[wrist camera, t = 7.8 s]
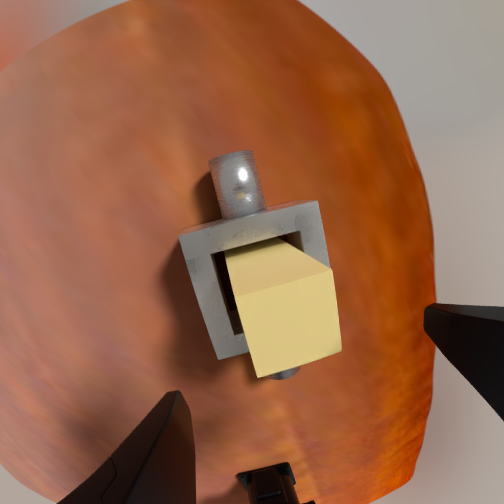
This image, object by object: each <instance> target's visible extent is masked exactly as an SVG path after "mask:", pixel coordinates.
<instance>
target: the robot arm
mask: <svg viewBox="0 0 504 504" xmlns="http://www.w3.org/2000/svg"><path fill="white" fill-rule="evenodd" d="M423 327H424V330H425V332H426V333H427V335H428V336H429V337H430V338H431V340H432V341H433V342H434V343H435V345H436V346H437V347H438V348H439V350H440V351H441V352H442V354H443V355H444V356H445V357H446V358H447V359H448V360H449V361H450V363H452V365H454V367H456V369H457V370H458V371H459V372H460V373H461V374H462V375H463V376H464V377H465V378H466V379H467V380H468V381H469V382H470V384H471V385H472V386H473V387H474V388H475V389H476V390H477V391H478V392H479V393H480V395H481V396H482V397H483V398H484V399H485V400H486V401H487V402H488V404H489V405H490V406H491V407H492V408H493V409H494V410H495V412H496V413H497V414H498V415H499V416H500V417H501V419H502V420H503V421H504V307H497V306H474V305H456V304H439V303H433V304H430V305H429V306H427V307H426V308H425V309H424V324H423ZM238 478H239V480H240V481H241V483H242V484H243V486H244V487H245V489H246V490H247V492H248V495H249V501H250V504H300V503H299V500H298V497H297V495H296V492H295V489H294V486H293V485H295V484H296V482H295V479H294V476H293V473H292V470H291V467H290V464H289V463H288V462H286V463H282V464H278V465H275V466H271V467H267V468H263V469H258V470H254V471H249V472H244V473H240V474H238ZM57 504H196V471H195V445H194V437H193V429H192V421H191V413H190V409H189V407H188V405H187V403H186V401H185V399H184V397H183V395H182V393H181V392H180V391H178V390H176V391H170V392H167V393H166V394H165V395H164V396H163V397H162V399H161V400H160V401H159V402H158V403H157V404H156V405H155V407H154V408H153V409H152V410H151V411H150V412H149V413H148V415H147V416H146V417H145V418H144V419H143V420H142V421H141V422H140V424H139V425H138V426H137V427H136V428H135V429H134V430H133V431H132V432H131V434H130V435H129V436H128V437H127V438H126V439H125V440H124V441H123V442H122V443H121V445H120V446H119V447H118V448H117V449H116V450H115V451H114V452H113V453H112V454H111V457H109V458H108V459H107V460H106V461H105V462H104V463H103V464H102V465H101V466H100V467H99V468H98V469H97V470H96V471H95V472H94V473H93V474H92V475H91V476H90V477H89V478H87V479H86V480H85V481H84V482H83V483H82V484H81V485H79V486H78V487H77V488H76V489H75V490H73V491H72V492H71V493H70V494H68V495H67V496H66V497H65V498H64V499H62V500H61V501H60V502H58V503H57ZM303 504H315V502H314V500H312V501H309V502H307V503H303Z"/></svg>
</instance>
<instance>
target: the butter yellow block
mask: <svg viewBox="0 0 504 504" xmlns="http://www.w3.org/2000/svg"><path fill="white" fill-rule="evenodd" d="M224 255H225V259H226V263H227V268H228V272H229V276H230V281H231V285H232V289H233V293H234V297H235V301H236V305H237V308H238V312H239V315H240V319H241V323H242V326H243V330H244V333H245V337H246V340H247V344H248V347H249V351H250V354H251V357H252V361H253V364H254V368H255V371H256V374H257V378H259V377H263V376H266V375H270V374H273V373H277V372H280V371H284V370H287V369H290V368H293V367H297V366H300V365H303V364H306V363H309V362H312V361H315V360H318V359H321V358H323V357H326V356H329V355H332V354H334V353H337V352H340V351H342V347H341V337H340V327H339V318H338V310H337V302H336V294H335V287H334V279H333V273H332V269H330V268H329V267H327V266H325V265H324V264H322V263H320V262H319V261H317V260H315V259H313V258H312V257H310V256H308V255H307V254H305V253H303V252H302V251H300V250H298V249H297V248H295V247H293V246H291V245H290V244H288V243H286V242H285V241H283V240H281V239H279V238H278V237H273V238H269V239H265V240H261V241H257V242H253V243H249V244H246V245H242V246H238V247H234V248H231V249H227V250H224Z"/></svg>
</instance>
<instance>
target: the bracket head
mask: <svg viewBox="0 0 504 504" xmlns="http://www.w3.org/2000/svg"><path fill="white" fill-rule="evenodd" d="M208 164H209V168H210V172H211V176H212V180H213V184H214V188H215V192H216V196H217V200H218V204H219V208H220V212H221V216H222V219H219V220H215V221H212V222H208V223H204V224H201V225H197V226H193V227H190V228H186V229H184V230H183V231H182V232H181V233H180V235H179V236H178V237H179V241H180V244H181V248H182V251H183V255H184V258H185V261H186V265H187V268H188V271H189V275H190V278H191V281H192V284H193V287H194V291H195V294H196V297H197V300H198V303H199V306H200V309H201V312H202V315H203V318H204V321H205V324H206V327H207V330H208V333H209V335H210V338H211V341H212V344H213V347H214V349H215V352H216V355H217V358H218V360H220V359H224V358H228V357H232V356H236V355H240V354H244V353H247V352H250V351H249V347H248V344H247V340H246V337H245V333H244V330H243V326H242V323H241V319H240V315H239V312H238V310H235V311H231V312H230V311H229V307H228V304H227V300H226V297H225V294H224V290H223V287H222V283H221V280H220V276H219V273H218V269H217V266H216V262H215V259H214V255H213V253H216V252H219V251H223V250H227V249H231V248H234V247H238V246H242V245H246V244H249V243H253V242H257V241H261V240H265V239H268V238H272V237H276V236H280V235H284V234H286V239H287V243H288V244H290V245H291V246H293V247H295V248H297V249H298V250H300V251H302V252H303V253H305V254H307V255H308V256H310V257H312V258H313V259H315V260H317V261H319V262H320V263H322V264H324V265H325V266H327V267H329V268H330V264H329V258H328V252H327V246H326V241H325V235H324V230H323V225H322V220H321V215H320V210H319V205H318V201H317V200H296V201H291V202H287V203H283V204H279V205H275V206H271V207H266V204H265V200H264V196H263V192H262V188H261V184H260V179H259V175H258V171H257V167H256V163H255V159H254V155H253V151H251V150H246V151H239V152H233V153H229V154H225V155H222V156H219V157H216V158H214V159H211V160H210V161H208ZM300 366H301V365H300ZM300 366H297V367H293V368H290V369H287V370H284V371H280V372H277V373H273V374H270V375H266V376H267V377H268V378H270V379H274V380H282V379H286V378H289V377H291V376H293V375H295V374H296V373H297V372H298V371H299V369H300Z"/></svg>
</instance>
